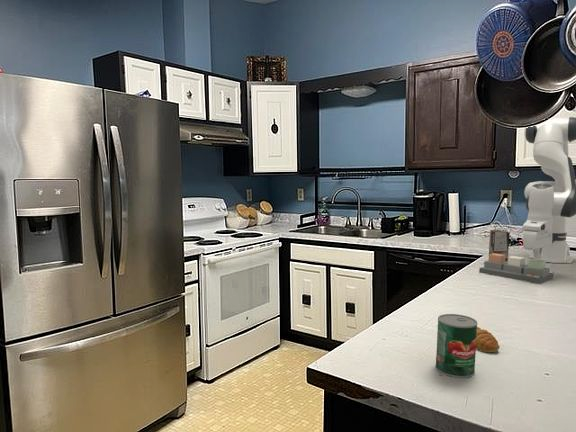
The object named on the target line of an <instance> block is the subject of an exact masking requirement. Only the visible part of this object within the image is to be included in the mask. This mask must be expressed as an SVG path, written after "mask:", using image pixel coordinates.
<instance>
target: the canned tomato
mask: <svg viewBox="0 0 576 432" xmlns="http://www.w3.org/2000/svg"><path fill="white" fill-rule="evenodd" d="M477 327H478V321H477V320H476V319H475V318H473V317H470V316H467V315H463V314H456V313H445V314H441V315H439V316H438V317H437V332H436V333H437V334H436V335H437V336H436V354H435V368H436V370H437V371H438V372H439V373H441V374H443V375H446V376H449V377H451V378H458V379H462V378H463V379H467V378H470V377H471V378H472V377H473V376H474V375H475V373H476V370H475V369H476V354H477V353H476V350H477V349H476V336H477Z"/></svg>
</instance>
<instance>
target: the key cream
mask: <svg viewBox="0 0 576 432" xmlns="http://www.w3.org/2000/svg"><path fill="white" fill-rule="evenodd" d="M525 262H526V257H522V256H516V255H512V256H508V265H512V266H518V267H521V266H525V265H526V264H525Z"/></svg>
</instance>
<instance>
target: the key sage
mask: <svg viewBox="0 0 576 432" xmlns="http://www.w3.org/2000/svg"><path fill="white" fill-rule="evenodd" d="M527 265H528V268H531V269H537V270H544V269H546V268H547V267H546V266H547V262H546V261H544V260H537V259H533V258H530V259H528V263H527Z"/></svg>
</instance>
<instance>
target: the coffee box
mask: <svg viewBox="0 0 576 432" xmlns="http://www.w3.org/2000/svg"><path fill="white" fill-rule="evenodd" d="M488 243H489V245H488V255H489V254H493V253H496V254H503V255H505V261H506V262H508V257H509V249H510V248H509V247H510V232H509V231H507V230H504V229H503V230H502V229H490V230H489V242H488Z"/></svg>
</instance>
